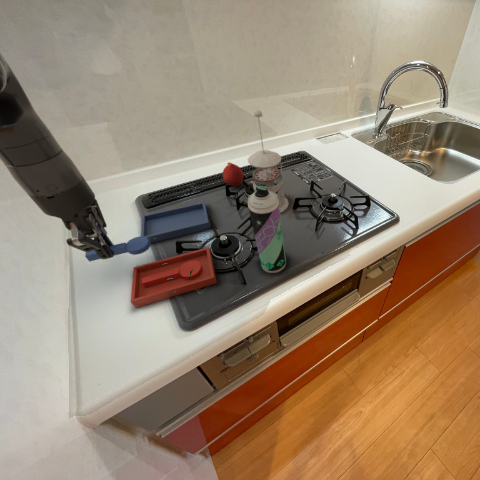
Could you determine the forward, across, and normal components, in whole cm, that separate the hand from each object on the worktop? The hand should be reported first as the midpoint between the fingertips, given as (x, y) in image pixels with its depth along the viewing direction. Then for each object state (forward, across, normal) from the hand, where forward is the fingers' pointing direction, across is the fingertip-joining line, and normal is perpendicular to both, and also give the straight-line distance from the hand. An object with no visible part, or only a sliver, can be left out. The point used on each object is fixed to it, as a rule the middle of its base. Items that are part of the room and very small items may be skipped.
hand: (109, 253), depth 56 cm
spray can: (+4, +12, +31) cm, 34 cm away
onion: (+4, -22, +29) cm, 37 cm away
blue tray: (+4, -10, +12) cm, 17 cm away
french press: (+4, -10, +37) cm, 39 cm away
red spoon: (+4, +8, +11) cm, 14 cm away
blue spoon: (0, 0, +2) cm, 2 cm away
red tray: (+4, +8, +11) cm, 14 cm away
